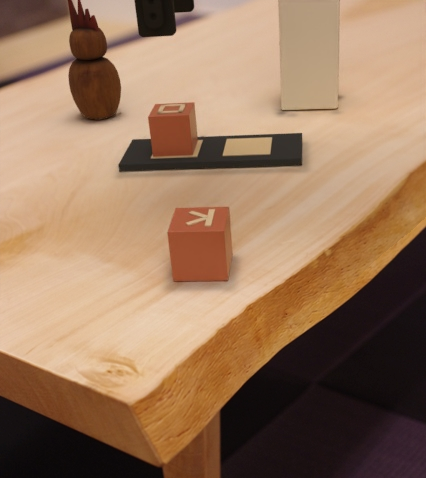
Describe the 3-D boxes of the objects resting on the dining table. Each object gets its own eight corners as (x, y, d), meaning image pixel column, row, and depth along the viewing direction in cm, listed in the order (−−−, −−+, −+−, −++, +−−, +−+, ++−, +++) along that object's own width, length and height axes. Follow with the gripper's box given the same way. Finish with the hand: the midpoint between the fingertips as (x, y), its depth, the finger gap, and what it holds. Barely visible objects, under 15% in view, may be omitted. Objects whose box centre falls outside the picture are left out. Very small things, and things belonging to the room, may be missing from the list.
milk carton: (337, 109, 94) (339, -58, 83) (281, 111, 95) (276, -54, 85) (338, 93, 100) (340, -66, 89) (285, 94, 101) (281, -62, 91)
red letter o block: (198, 141, 85) (194, 101, 83) (192, 155, 82) (189, 113, 79) (159, 142, 86) (154, 102, 84) (152, 156, 82) (147, 115, 80)
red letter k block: (232, 254, 64) (229, 204, 61) (228, 280, 60) (224, 229, 57) (180, 255, 64) (175, 206, 62) (173, 281, 60) (166, 230, 58)
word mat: (302, 139, 86) (302, 131, 85) (301, 165, 79) (301, 157, 79) (133, 145, 88) (132, 138, 88) (119, 171, 82) (117, 163, 81)
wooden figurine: (68, 116, 100) (46, -3, 92) (104, 105, 103) (85, -11, 95) (95, 126, 96) (74, 2, 87) (131, 115, 98) (114, -7, 90)
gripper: (171, -218, 50) (194, 44, 60) (207, -208, 65) (221, 2, 74) (65, -207, 52) (104, 48, 61) (123, -200, 66) (148, 6, 75)
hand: (168, 23), depth 67 cm, fingers open, 9 cm apart
